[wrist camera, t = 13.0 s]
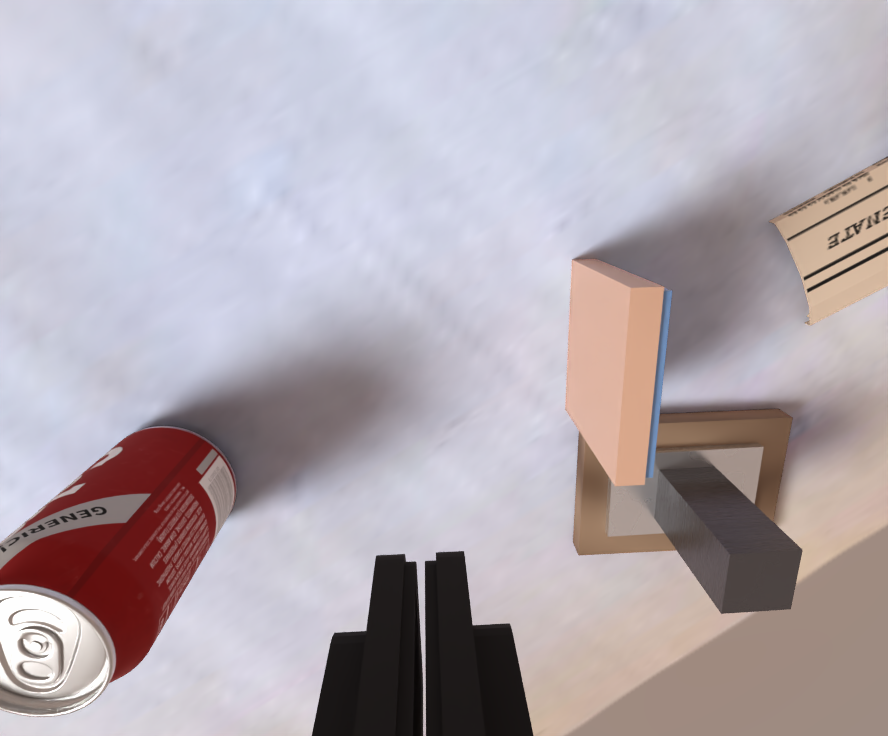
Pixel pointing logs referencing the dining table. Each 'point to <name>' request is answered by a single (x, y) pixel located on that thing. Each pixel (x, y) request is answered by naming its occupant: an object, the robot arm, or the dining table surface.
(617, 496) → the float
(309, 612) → the dining table surface
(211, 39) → the dining table surface
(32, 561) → the soda can
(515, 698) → the robot arm
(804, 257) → the newspaper
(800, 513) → the dining table surface
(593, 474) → the board
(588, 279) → the tile
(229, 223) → the dining table surface
